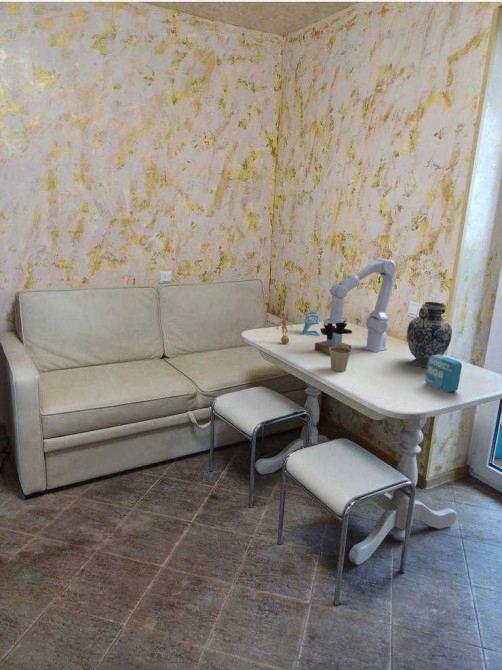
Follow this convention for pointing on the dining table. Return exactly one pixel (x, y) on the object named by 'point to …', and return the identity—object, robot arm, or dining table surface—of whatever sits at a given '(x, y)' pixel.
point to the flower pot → (339, 358)
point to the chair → (310, 323)
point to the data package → (443, 373)
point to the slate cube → (335, 340)
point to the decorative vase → (428, 333)
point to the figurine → (284, 338)
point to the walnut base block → (325, 347)
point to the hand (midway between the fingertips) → (333, 338)
